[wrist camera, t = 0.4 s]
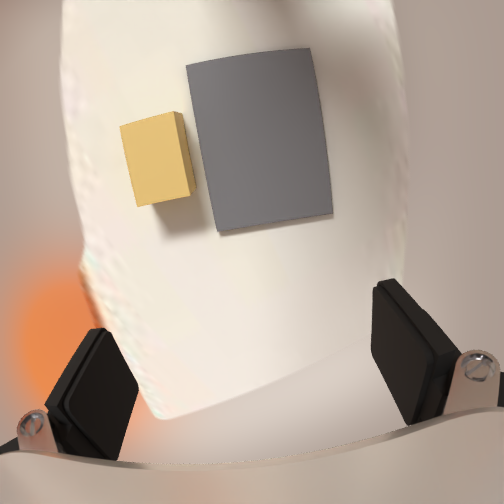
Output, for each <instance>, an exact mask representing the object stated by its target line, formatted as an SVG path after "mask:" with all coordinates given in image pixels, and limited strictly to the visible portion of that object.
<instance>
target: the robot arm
mask: <svg viewBox="0 0 504 504" xmlns="http://www.w3.org/2000/svg"><path fill="white" fill-rule="evenodd" d="M371 353H372V356H373V358H374V360H375V362H376V364H377V366H378V368H379V370H380V372H381V374H382V376H383V378H384V380H385V382H386V384H387V386H388V388H389V390H390V392H391V394H392V396H393V398H394V400H395V402H396V404H397V406H398V408H399V411H400V413H401V415H402V417H403V419H404V421H405V423H406V424H407V425H408V427H405V428H402V429H399V430H396V431H392V432H390V433H386V434H383V435H379V436H376V437H372V438H369V439H365V440H361V441H358V442H354V443H350V444H346V445H341V446H338V447H333V448H328V449H324V450H319V451H314V452H309V453H303V454H298V455H291V456H285V457H278V458H271V459H263V460H255V461H244V462H232V463H216V464H151V463H134V462H123V461H116V460H117V459H118V457H119V453H120V450H121V446H122V443H123V439H124V436H125V433H126V429H127V426H128V423H129V419H130V417H131V413H132V410H133V407H134V404H135V401H136V397H137V394H138V391H139V387H138V383H137V381H136V379H135V378H134V376H133V374H132V372H131V370H130V369H129V367H128V365H127V363H126V361H125V359H124V357H123V355H122V353H121V352H120V350H119V348H118V346H117V344H116V342H115V340H114V338H113V335H112V334H111V332H109V331H107V330H106V329H105V328H96V329H90V330H89V331H88V333H87V335H86V336H85V338H84V339H83V341H82V342H81V344H80V345H79V347H78V349H77V350H76V352H75V353H74V355H73V357H72V358H71V360H70V362H69V363H68V365H67V366H66V368H65V370H64V371H63V373H62V375H61V377H60V378H59V380H58V382H57V383H56V385H55V387H54V389H53V390H52V392H51V394H50V395H49V397H48V399H47V401H46V402H45V404H44V405H45V406H46V407H47V409H48V410H49V411H48V413H45V412H44V411H43V410H39V409H38V410H33V411H30V412H28V413H27V414H25V415H24V416H23V417H22V418H21V420H20V421H19V423H18V426H17V435H18V437H16V438H14V439H13V440H11V441H9V442H7V443H6V444H4V445H2V446H0V504H504V372H500V364H499V362H498V361H497V359H496V358H495V357H494V356H493V355H492V354H490V353H488V352H486V351H482V350H471V351H467V352H465V353H463V354H461V352H460V351H459V350H458V348H457V347H456V346H455V345H454V344H453V342H452V341H451V340H450V339H449V338H448V336H447V335H446V334H445V333H444V332H443V330H442V329H441V328H440V327H439V326H438V325H437V323H436V322H435V321H434V320H433V319H432V318H431V316H430V315H429V314H428V313H427V312H426V311H425V310H423V309H422V308H421V307H420V306H419V305H418V304H417V303H416V302H415V300H414V299H413V298H412V297H411V296H410V295H409V294H408V293H407V292H406V290H405V289H404V288H403V287H402V286H401V285H400V284H399V283H398V282H397V281H396V280H395V279H394V278H392V279H388V280H384V281H379V282H378V284H377V287H374V288H373V304H372V334H371ZM409 425H411V426H409Z"/></svg>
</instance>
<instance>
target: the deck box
mask: <svg viewBox="0 0 504 504" xmlns="http://www.w3.org/2000/svg"><path fill="white" fill-rule="evenodd" d="M119 127H120V132H121V137H122V142H123V147H124V152H125V157H126V161H127V166H128V170H129V175H130V179H131V183H132V187H133V192H134V196H135V200H136V204H137V207H140V206H144V205H149V204H153V203H158V202H163V201H167V200H172V199H177V198H182V197H187V196H190V195H191V194H192V193H193V191H194V190H195V189H196V184H195V179H194V174H193V169H192V164H191V159H190V154H189V149H188V144H187V139H186V133H185V128H184V123H183V117H182V113H178V112H174V111H172V112H168V113H164V114H161V115H157V116H153V117H149V118H146V119H142V120H139V121H135V122H132V123H129V124H125V125H122V126H119Z"/></svg>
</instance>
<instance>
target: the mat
mask: <svg viewBox="0 0 504 504" xmlns="http://www.w3.org/2000/svg"><path fill="white" fill-rule="evenodd" d="M186 70H187V76H188V82H189V88H190V93H191V99H192V105H193V110H194V116H195V122H196V127H197V132H198V138H199V143H200V149H201V154H202V159H203V164H204V169H205V174H206V180H207V185H208V190H209V195H210V200H211V204H212V209H213V214H214V219H215V224H216V229H217V232H218V231H224V230H230V229H236V228H242V227H248V226H254V225H260V224H267V223H273V222H279V221H285V220H292V219H298V218H305V217H311V216H318V215H325V214H331V213H333V209H332V198H331V187H330V177H329V168H328V159H327V151H326V143H325V135H324V128H323V121H322V114H321V107H320V101H319V95H318V89H317V83H316V77H315V72H314V66H313V61H312V56H311V51H310V48H304V49H289V50H278V51H268V52H259V53H251V54H244V55H238V56H231V57H225V58H220V59H214V60H209V61H204V62H199V63H195V64H190V65H186Z"/></svg>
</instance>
